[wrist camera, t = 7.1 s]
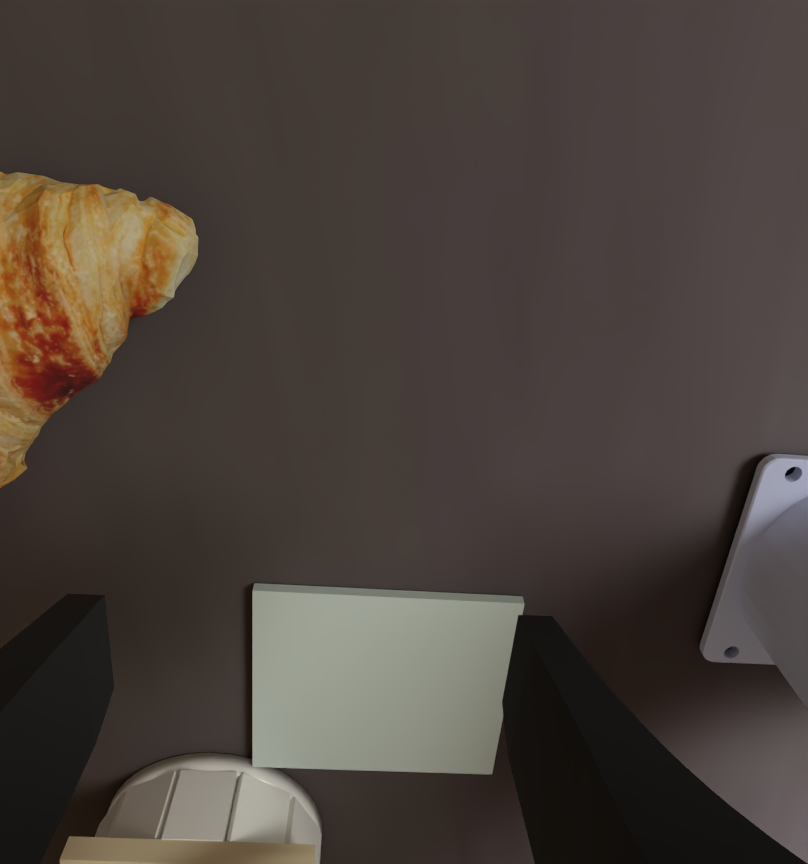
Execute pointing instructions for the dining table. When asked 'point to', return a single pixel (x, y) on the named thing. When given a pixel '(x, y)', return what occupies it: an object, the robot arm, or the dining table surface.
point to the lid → (181, 852)
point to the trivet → (379, 678)
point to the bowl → (213, 803)
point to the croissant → (74, 291)
